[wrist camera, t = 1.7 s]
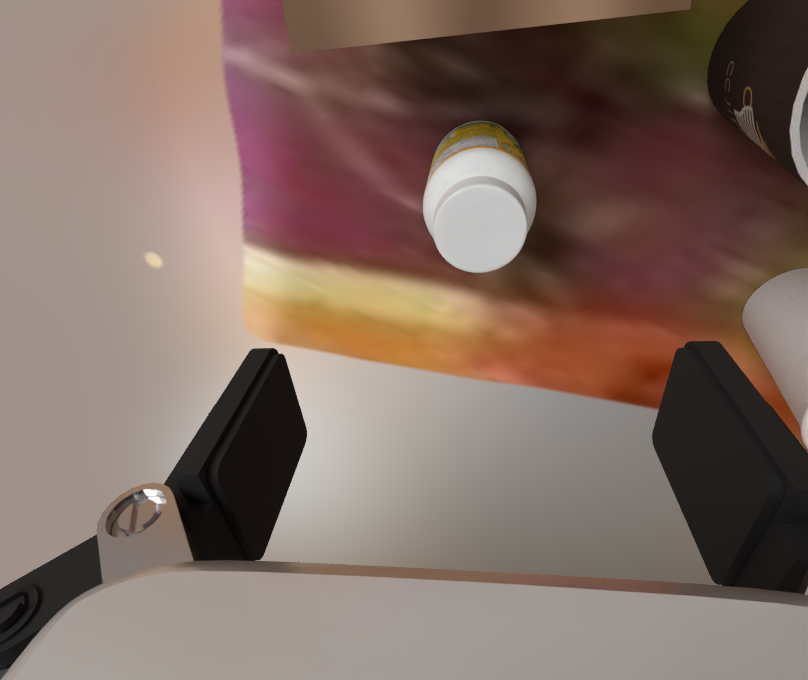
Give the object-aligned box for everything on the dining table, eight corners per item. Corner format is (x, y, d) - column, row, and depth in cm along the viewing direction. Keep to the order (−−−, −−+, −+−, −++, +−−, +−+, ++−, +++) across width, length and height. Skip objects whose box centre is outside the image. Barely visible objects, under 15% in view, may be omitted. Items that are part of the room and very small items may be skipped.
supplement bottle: (425, 128, 27) (406, 176, 19) (522, 110, 25) (543, 154, 18) (439, 218, 30) (427, 292, 22) (526, 206, 28) (546, 279, 21)
